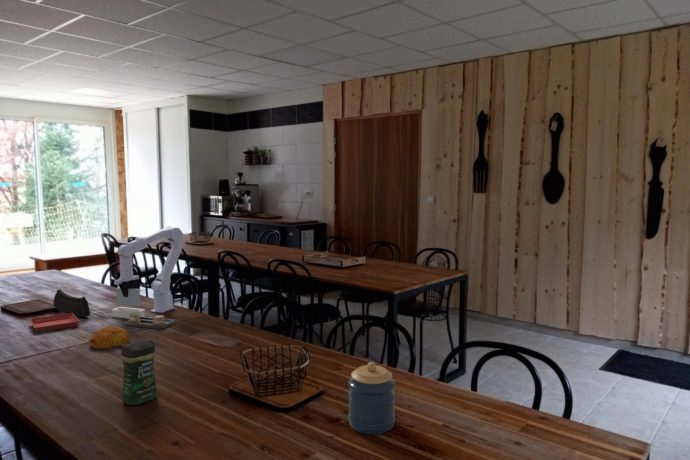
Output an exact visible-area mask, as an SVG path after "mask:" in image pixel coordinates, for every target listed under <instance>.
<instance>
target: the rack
mask: <svg viewBox="0 0 690 460" xmlns="http://www.w3.org/2000/svg"><path fill="white" fill-rule="evenodd" d="M164 321H165V324H163V325H155V324H153V317H149V316H146V317H142V316H140V323H137V322H128V319H126V320H124V321H123V323H122V325H123V326H130V327H136V328H137V327H140V328H147V329H155V330H156V329H157V330H163V329H166V328H168V327H171V326H172V325H175V324H176V319H167V318H164Z"/></svg>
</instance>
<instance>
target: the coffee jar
mask: <svg viewBox="0 0 690 460" xmlns="http://www.w3.org/2000/svg"><path fill="white" fill-rule="evenodd" d="M155 355H156V347H155V342H154V341H153V340H151V339H149V338H144V339H141V340H138V341H137V340H136V341H133V342H128V343H127V344H124V345H122V346H121V352H120V358H121V361H122V365H123V382H122V394H121V395H122V396H121V397H122V402H123V403H124V404H125V405H128V406H138V405H142V404H143V403H146V402H150V401H152V400H154V399H156V397H157V396H158V390H157V383H156V382H157V381H156V377H155V367H154V360H155Z"/></svg>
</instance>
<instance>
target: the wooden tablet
mask: <svg viewBox="0 0 690 460" xmlns="http://www.w3.org/2000/svg"><path fill="white" fill-rule="evenodd" d="M189 337H190V339H192V338H193V339H192V340H195V341H198V340H199V342H202V343H205V344H209V345H212V346H215V347H217V348H222V349H231V348H232V347H235V346H239V345H242V344H243V343H244V341H242V340H240V339H236V338H232V337H229V336H226V335H225V336H224V335H220V334H216V333H212V332H207V331H200V332H197V333H195V334H192V335H190V336H189Z"/></svg>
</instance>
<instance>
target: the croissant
mask: <svg viewBox="0 0 690 460" xmlns="http://www.w3.org/2000/svg"><path fill="white" fill-rule="evenodd" d="M130 338H131V336H130V333H129V332H128V330H127V329H125V328H123V327H121V326H114V325H113V326H112V325H108V326H105V327H101V329H99V330H97V331H96V332H95V333H93V334H92V335H91V337H90V338H89V339H88V343H89V345H90V346H91V347H93V348H95V349H97V350H98V349H99V350H100V349H101V350H102V349H104V350H105V349H106V350H107V349H108V350H110V349H114V348H118V347H122V346H123V345H124V344H128V343H130V342H129V341H130Z"/></svg>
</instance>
